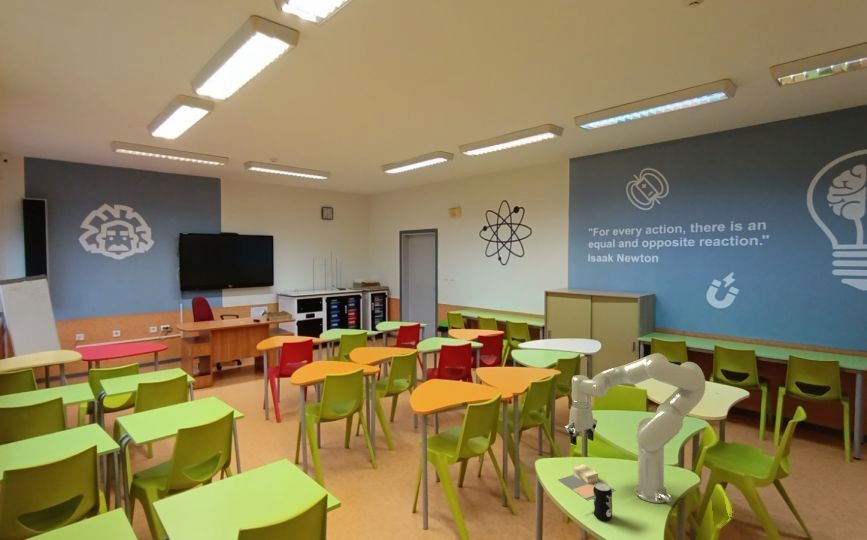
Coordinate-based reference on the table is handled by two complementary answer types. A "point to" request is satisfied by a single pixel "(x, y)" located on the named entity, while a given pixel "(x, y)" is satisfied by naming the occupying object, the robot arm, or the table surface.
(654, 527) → the table surface
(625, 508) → the table surface
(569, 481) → the rubber mat
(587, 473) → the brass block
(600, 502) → the beverage can
